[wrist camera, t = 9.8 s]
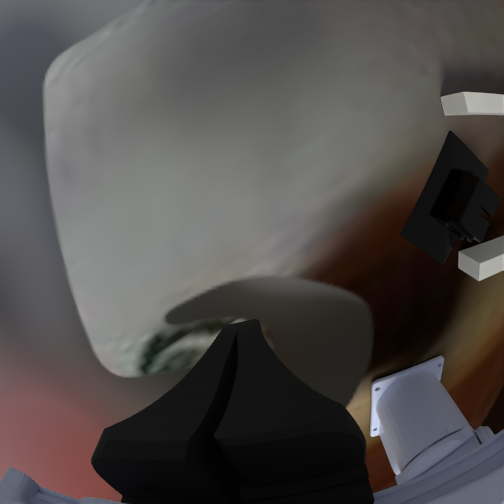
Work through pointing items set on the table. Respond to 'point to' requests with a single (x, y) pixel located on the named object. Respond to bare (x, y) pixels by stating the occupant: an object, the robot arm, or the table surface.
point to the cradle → (500, 249)
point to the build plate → (451, 202)
